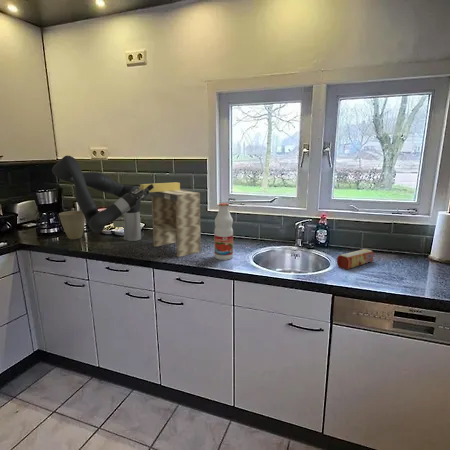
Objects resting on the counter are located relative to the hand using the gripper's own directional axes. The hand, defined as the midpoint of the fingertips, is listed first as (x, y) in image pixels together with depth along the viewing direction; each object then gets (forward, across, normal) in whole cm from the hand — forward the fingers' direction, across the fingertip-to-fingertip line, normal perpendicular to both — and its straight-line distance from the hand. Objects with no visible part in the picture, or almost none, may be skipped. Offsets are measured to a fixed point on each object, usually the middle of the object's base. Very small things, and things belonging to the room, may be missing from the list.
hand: (150, 185), depth 166 cm
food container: (-14, +48, +33) cm, 60 cm away
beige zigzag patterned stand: (-8, -6, +36) cm, 38 cm away
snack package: (+36, -84, +62) cm, 111 cm away
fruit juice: (+1, -34, +42) cm, 54 cm away
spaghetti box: (+4, 0, +6) cm, 7 cm away
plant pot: (-39, +55, +19) cm, 70 cm away
